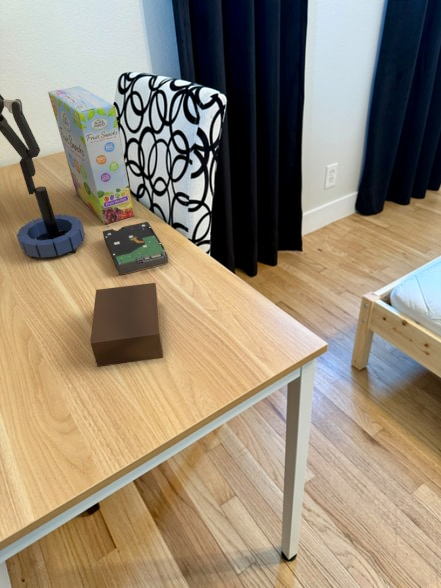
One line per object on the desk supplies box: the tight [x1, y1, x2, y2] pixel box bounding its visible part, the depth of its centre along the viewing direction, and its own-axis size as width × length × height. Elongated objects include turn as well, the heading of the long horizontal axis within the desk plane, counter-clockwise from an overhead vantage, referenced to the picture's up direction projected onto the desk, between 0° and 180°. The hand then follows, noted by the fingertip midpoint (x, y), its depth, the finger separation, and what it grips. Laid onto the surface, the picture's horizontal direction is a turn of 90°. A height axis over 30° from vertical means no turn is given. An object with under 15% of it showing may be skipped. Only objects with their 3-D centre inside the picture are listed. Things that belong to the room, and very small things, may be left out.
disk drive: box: [102, 221, 169, 276], centre depth 89 cm, size 10×3×15 cm
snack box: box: [47, 85, 136, 225], centre depth 101 cm, size 22×9×26 cm, turn 33°
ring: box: [16, 214, 86, 259], centre depth 92 cm, size 13×13×3 cm
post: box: [30, 186, 78, 259], centre depth 90 cm, size 9×9×13 cm
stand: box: [89, 282, 164, 367], centre depth 69 cm, size 10×13×5 cm
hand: (9, 193), depth 85 cm, fingers open, 8 cm apart
